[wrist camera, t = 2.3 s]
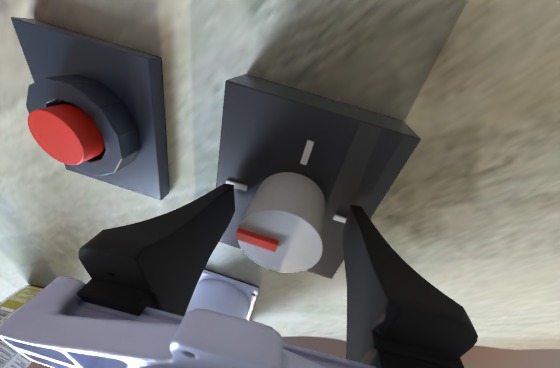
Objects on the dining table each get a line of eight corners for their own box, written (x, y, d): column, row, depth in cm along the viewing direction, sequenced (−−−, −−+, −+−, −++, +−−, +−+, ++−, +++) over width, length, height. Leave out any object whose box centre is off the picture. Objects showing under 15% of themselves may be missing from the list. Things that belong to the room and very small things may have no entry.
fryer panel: (331, 249, 20) (331, 281, 17) (226, 215, 20) (210, 241, 17) (404, 121, 13) (423, 140, 10) (245, 73, 13) (223, 80, 11)
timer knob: (336, 185, 13) (337, 232, 9) (312, 236, 15) (306, 287, 12) (263, 162, 13) (240, 201, 10) (251, 216, 15) (230, 262, 12)
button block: (169, 193, 20) (146, 213, 17) (79, 163, 20) (43, 179, 18) (161, 57, 14) (124, 59, 11) (32, 18, 14) (-32, 12, 12)
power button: (109, 162, 16) (89, 172, 15) (64, 147, 16) (40, 156, 15) (98, 113, 14) (74, 119, 13) (46, 96, 14) (16, 101, 13)
